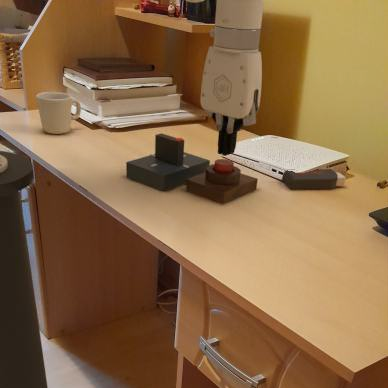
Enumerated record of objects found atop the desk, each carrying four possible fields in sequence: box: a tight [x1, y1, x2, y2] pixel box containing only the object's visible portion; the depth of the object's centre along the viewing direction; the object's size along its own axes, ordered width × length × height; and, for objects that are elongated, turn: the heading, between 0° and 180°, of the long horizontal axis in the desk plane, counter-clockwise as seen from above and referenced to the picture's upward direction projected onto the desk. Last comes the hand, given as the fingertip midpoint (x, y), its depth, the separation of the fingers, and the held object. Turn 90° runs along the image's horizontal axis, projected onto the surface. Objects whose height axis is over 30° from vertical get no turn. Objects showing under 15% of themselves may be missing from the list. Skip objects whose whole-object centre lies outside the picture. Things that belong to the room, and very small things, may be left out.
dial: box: [154, 132, 185, 165], centre depth 102 cm, size 6×2×5 cm, turn 51°
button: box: [214, 158, 235, 173], centre depth 98 cm, size 4×4×2 cm
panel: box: [125, 151, 211, 192], centre depth 104 cm, size 14×10×3 cm
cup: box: [35, 91, 82, 135], centre depth 123 cm, size 11×8×8 cm
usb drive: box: [281, 168, 347, 191], centre depth 105 cm, size 5×12×3 cm, turn 102°
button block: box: [185, 163, 259, 205], centre depth 99 cm, size 11×9×4 cm
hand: (226, 153), depth 96 cm, fingers closed
